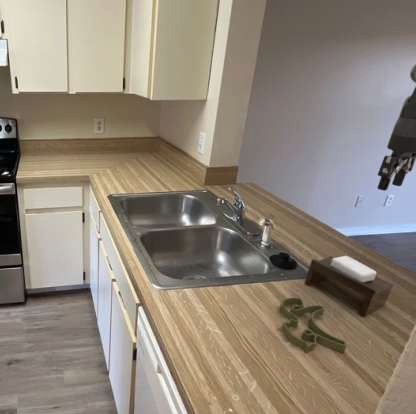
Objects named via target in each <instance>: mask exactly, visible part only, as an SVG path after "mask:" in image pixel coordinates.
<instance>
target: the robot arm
mask: <svg viewBox="0 0 416 414" xmlns="http://www.w3.org/2000/svg"><path fill="white" fill-rule="evenodd" d="M409 76H410V79H411V81H412V82H413V83H415V84H416V64H414V65H413V67H412V68H411V70H410V72H409ZM386 147H387V149H388V150H391V151H392V153H391V154H390V155H384V157H383V159H382V162H381V165H380V167H379V170H378V172H377V176H378V177H380V179H379V182H378V185H377V189H378V190H380V191H383V192H384V191H388V189H389V186H390V183H391V185H392V186H395V187H401V186H403V183H404V181H405V178H406V175H408V174H409V172H412V171H413V167H414V165H415V162H416V86H414V89H413V91H412V93H411V95H409V96H407V97H406V98H405V99H404V102H403V103H402V107H401V110H400V112H399V116H398V117H397V120H396V122H395V123H394V126H393V129H392V132H391V135H390V137H389V139H388V143H387V146H386ZM392 178H393V179H392ZM391 181H392V182H391Z"/></svg>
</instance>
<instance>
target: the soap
mask: <svg viewBox="0 0 416 414" xmlns="http://www.w3.org/2000/svg"><path fill="white" fill-rule="evenodd" d="M331 267H333V268H335V269H336V270H338V271H340V272H342V273H344V274H346V275H348V276H350V277H353V278H355V279H357V280H359V281H361V282H367V281H372V280H374V278H375V276H376V277H377V271H376V270H374V269H372V268H371V267H369V266H367V265H365V264H363V263H361V262H360V261H357V260H356V259H354V258H352V257H350V256H348V255H342V256H338V257H334V258H333V259H332V262H331Z"/></svg>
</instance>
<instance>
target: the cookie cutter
mask: <svg viewBox="0 0 416 414" xmlns="http://www.w3.org/2000/svg"><path fill="white" fill-rule="evenodd" d="M287 305H288V306H289V305H292V307H291V310H289V309H287V308H286V307H285V306H287ZM280 312H281V314H282V315H283V316H284V317H285V318H287V319H288V321H283V323H282V327H281V329H282V332H283V334H284V336H285V337H286V338H287V340H288V341H289V342H291V343H292V344H293V345H295V346H296V347H299V348H301V349H303V351H304V352H305V354H308V353H309V352H310V351H314V350H315V347H316V345H317V344H320V345H321V346H324V347H326V348H329V349H332V350H334V351H336V352H340V353H342V354H343V353H345V351H346V349H347V342H346V341H345V340H343V339H340V338H338V337H337V336H336V337H335V336H334V335H332V334H329V333H328V332H326V331H325V330H323V329H322V328H320V326H319V325H318V324H317V323H316V321H315V320H314V319H315V318H317V317H320V316H323V314H324V312H325V308H324V306H322V305H321V304H320V305H319V304H315V305H307V306H305V302H304V300H303V299H302V298H301V297H288V298H287V297H286V298H285V299H283V300H282V303H281V306H280ZM309 313H312V314H311V317H310V320H309V327H310V328H311V330H310V329H309V328H308V329H307V328H305V329H303V332H302V335H301V338H300V337H298V336H296V335H294V334H293V332H292V331H290V330H289V329H290V327H292V328H297V327H298V325H299V322H300V319H299V318H298V316H301V315H304V314H309ZM308 342H310V343H309V344H308Z"/></svg>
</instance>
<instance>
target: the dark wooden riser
mask: <svg viewBox="0 0 416 414" xmlns="http://www.w3.org/2000/svg"><path fill="white" fill-rule="evenodd" d="M333 258H335V257H334V256H332V255H330V256H327V257H325V258H322V259H319V260H317V259H315V258H313V259H311V261H310V264H309V268H308V270H307V274H306V278H305V282H304V285H305V286H306V287H310V286H312V285H314V284H316V283H319V282H320V281H323V280H326V279H327V278H329V279H330V280H332V281H334V282H336V283H338V284H340V285H342V286H344V287H346V288H348V289H349V290H352V291H354V292H356V293H358V294H360V295H362V296H364V297H365V298H364V301H363V304H362V306H361V308H360V311H359V313H358V314H359V316H360V317H363V318H366V317H367V316H369V315H371V314H372V313H374V312H376V311H378V310H379V309H381V308H383V307H384V306H386V303H387V301H388V298H389V296H390V294H391V291H392V289H393V286H394V284H393V283H391V282H389V281H386V280H384V279H383V278H380V277H377V275H376V276H375V278H374V280H372V281H367V282H361V281H359V280H357V279H355V278H353V277H350V276H348V275H346V274H344V273H342V272H340V271H338V270H336V269H335V268H333V267H331V262H332V259H333Z"/></svg>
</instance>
